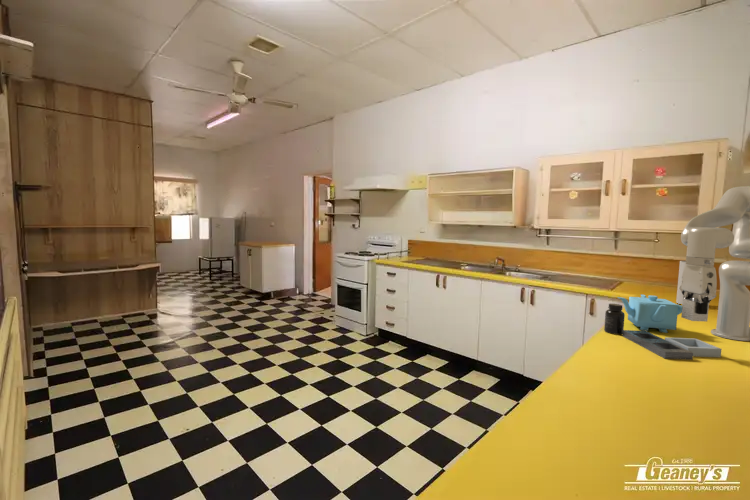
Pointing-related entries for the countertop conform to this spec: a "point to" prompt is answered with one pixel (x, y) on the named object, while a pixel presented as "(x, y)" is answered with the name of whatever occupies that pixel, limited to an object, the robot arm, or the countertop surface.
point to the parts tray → (696, 347)
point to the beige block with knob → (692, 310)
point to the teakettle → (652, 312)
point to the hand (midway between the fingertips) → (694, 311)
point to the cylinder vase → (679, 293)
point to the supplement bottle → (614, 319)
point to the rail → (657, 345)
